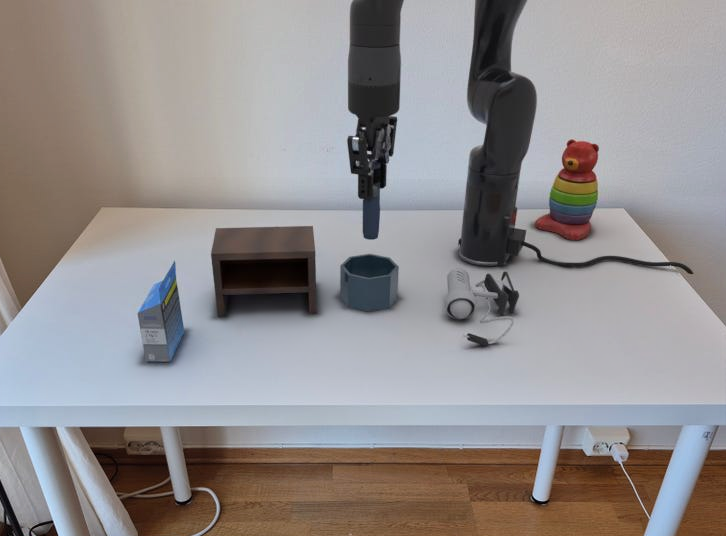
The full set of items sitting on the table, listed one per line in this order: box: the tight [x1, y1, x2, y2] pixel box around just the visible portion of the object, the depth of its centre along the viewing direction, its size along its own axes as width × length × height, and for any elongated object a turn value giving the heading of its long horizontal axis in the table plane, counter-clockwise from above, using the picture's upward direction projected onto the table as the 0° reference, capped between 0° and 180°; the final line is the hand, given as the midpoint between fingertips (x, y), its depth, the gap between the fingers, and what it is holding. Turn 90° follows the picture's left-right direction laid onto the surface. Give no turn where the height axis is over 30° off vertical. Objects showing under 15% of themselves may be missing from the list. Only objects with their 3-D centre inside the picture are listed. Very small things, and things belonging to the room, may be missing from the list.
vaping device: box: [362, 160, 381, 240], centre depth 110 cm, size 3×5×12 cm, turn 174°
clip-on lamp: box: [443, 266, 520, 347], centre depth 112 cm, size 12×6×18 cm
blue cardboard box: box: [136, 260, 185, 363], centre depth 103 cm, size 9×4×12 cm, turn 178°
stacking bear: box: [534, 139, 600, 241], centre depth 141 cm, size 11×10×18 cm
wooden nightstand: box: [210, 225, 318, 318], centre depth 115 cm, size 16×10×11 cm, turn 95°
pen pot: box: [339, 253, 400, 313], centre depth 118 cm, size 9×9×6 cm
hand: (372, 192), depth 109 cm, fingers closed on vaping device, 5 cm apart
